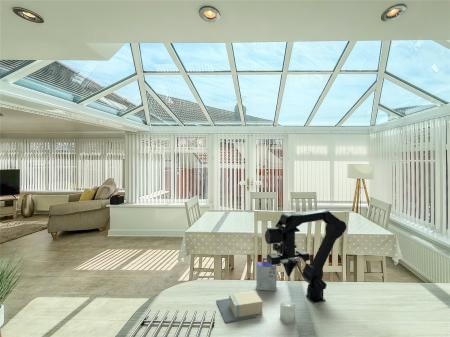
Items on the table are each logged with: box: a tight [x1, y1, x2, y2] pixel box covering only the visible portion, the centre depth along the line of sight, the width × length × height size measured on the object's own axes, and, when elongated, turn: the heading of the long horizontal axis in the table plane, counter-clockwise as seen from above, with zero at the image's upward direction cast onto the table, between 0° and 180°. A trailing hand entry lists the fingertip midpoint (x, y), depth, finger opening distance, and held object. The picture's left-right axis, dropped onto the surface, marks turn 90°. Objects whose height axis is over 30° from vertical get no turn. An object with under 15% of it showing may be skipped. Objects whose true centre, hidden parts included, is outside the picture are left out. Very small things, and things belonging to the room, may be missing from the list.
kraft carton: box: [228, 290, 264, 318], centre depth 112 cm, size 5×9×12 cm
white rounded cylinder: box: [279, 300, 296, 325], centre depth 106 cm, size 6×6×6 cm
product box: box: [255, 257, 277, 292], centre depth 131 cm, size 10×6×14 cm, turn 81°
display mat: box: [216, 297, 257, 324], centre depth 113 cm, size 13×16×1 cm
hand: (288, 275), depth 117 cm, fingers closed
